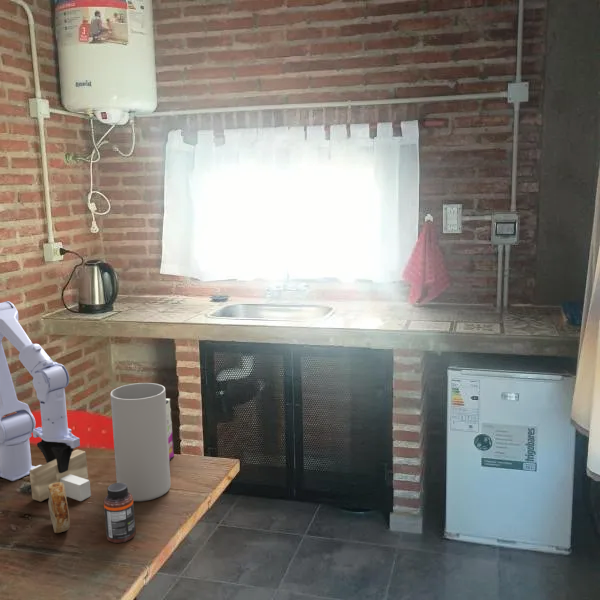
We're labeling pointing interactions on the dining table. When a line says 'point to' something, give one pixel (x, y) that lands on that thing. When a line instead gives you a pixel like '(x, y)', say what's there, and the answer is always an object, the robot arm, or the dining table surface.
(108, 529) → the supplement bottle
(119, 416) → the cylinder vase
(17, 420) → the robot arm
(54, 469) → the light wood plank
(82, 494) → the white building blocks
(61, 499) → the toasted sandwich
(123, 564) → the dining table surface
